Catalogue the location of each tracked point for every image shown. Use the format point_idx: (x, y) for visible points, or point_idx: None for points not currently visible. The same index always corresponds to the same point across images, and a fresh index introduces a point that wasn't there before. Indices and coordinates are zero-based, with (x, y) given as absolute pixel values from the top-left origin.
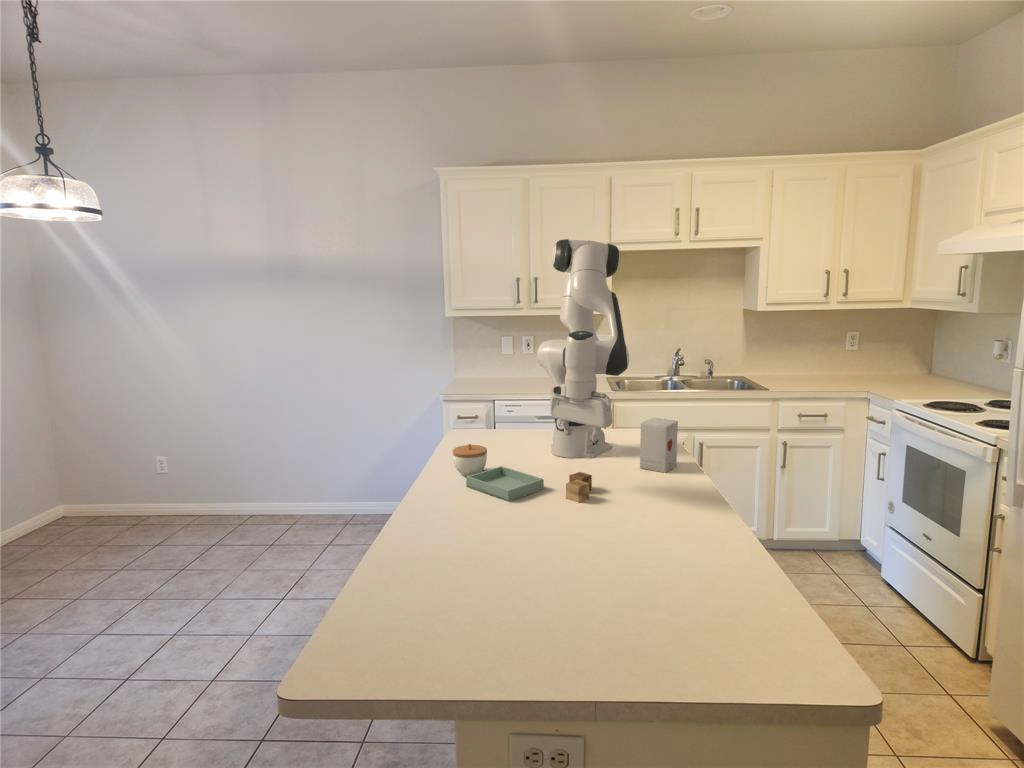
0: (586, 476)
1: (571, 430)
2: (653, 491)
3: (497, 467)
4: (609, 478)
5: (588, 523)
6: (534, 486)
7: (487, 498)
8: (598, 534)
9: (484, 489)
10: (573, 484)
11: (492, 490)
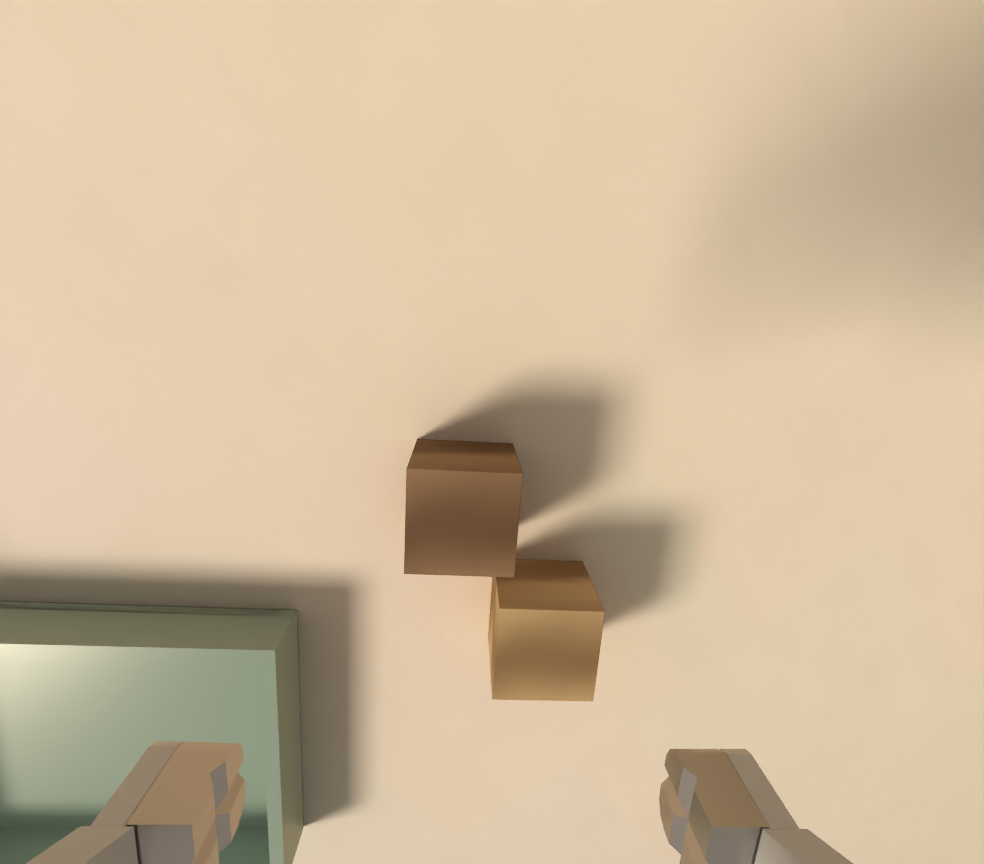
0: (510, 519)
1: (204, 804)
2: (837, 219)
3: None
4: (470, 174)
5: None
6: (287, 699)
7: None
8: (832, 827)
9: None
10: (540, 685)
11: None
